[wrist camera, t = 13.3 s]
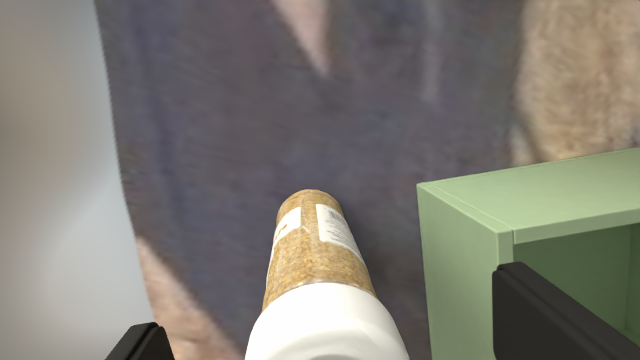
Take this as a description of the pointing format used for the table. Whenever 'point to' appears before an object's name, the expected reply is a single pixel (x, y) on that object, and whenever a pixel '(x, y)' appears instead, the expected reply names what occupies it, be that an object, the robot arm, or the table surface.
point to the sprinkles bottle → (320, 291)
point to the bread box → (531, 243)
